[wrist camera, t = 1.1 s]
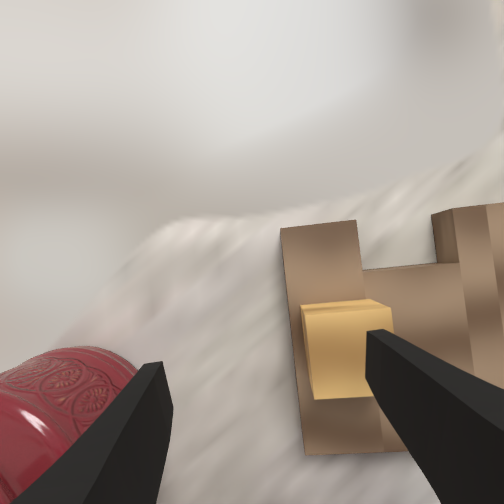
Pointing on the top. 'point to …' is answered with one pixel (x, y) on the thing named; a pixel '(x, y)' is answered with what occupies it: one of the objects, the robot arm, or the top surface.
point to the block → (340, 345)
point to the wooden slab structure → (399, 312)
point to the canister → (52, 409)
